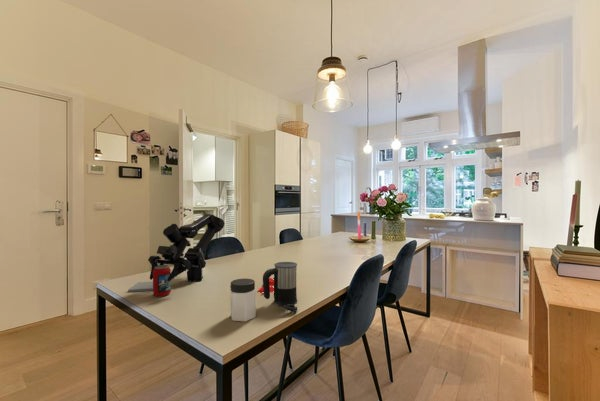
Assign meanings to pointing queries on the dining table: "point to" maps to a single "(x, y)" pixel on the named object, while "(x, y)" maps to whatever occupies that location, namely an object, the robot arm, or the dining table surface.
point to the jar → (242, 299)
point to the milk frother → (282, 285)
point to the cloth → (271, 283)
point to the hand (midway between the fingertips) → (159, 280)
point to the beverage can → (161, 280)
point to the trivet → (142, 287)
